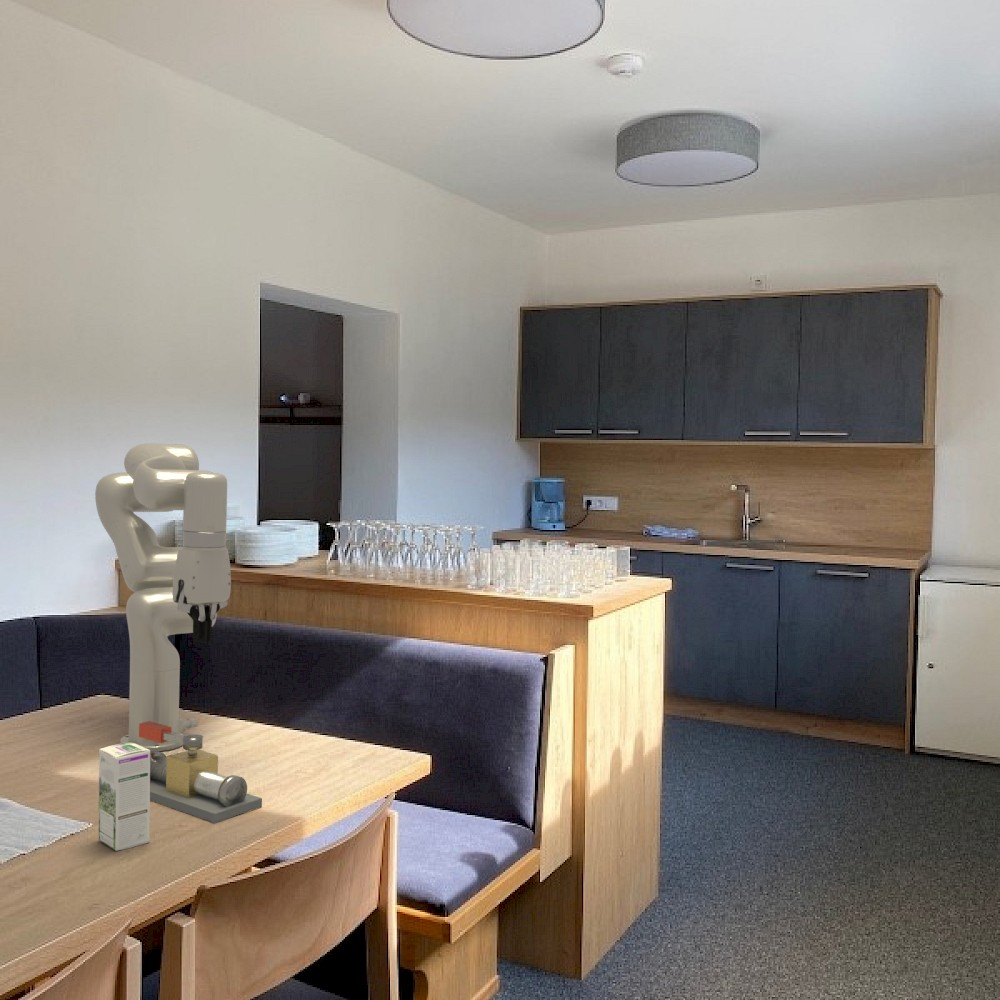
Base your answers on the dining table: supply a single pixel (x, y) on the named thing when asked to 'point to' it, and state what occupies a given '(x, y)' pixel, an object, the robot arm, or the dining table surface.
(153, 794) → the slate board
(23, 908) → the dining table surface
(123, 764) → the syrup box
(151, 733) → the valve lever
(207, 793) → the valve pipe
